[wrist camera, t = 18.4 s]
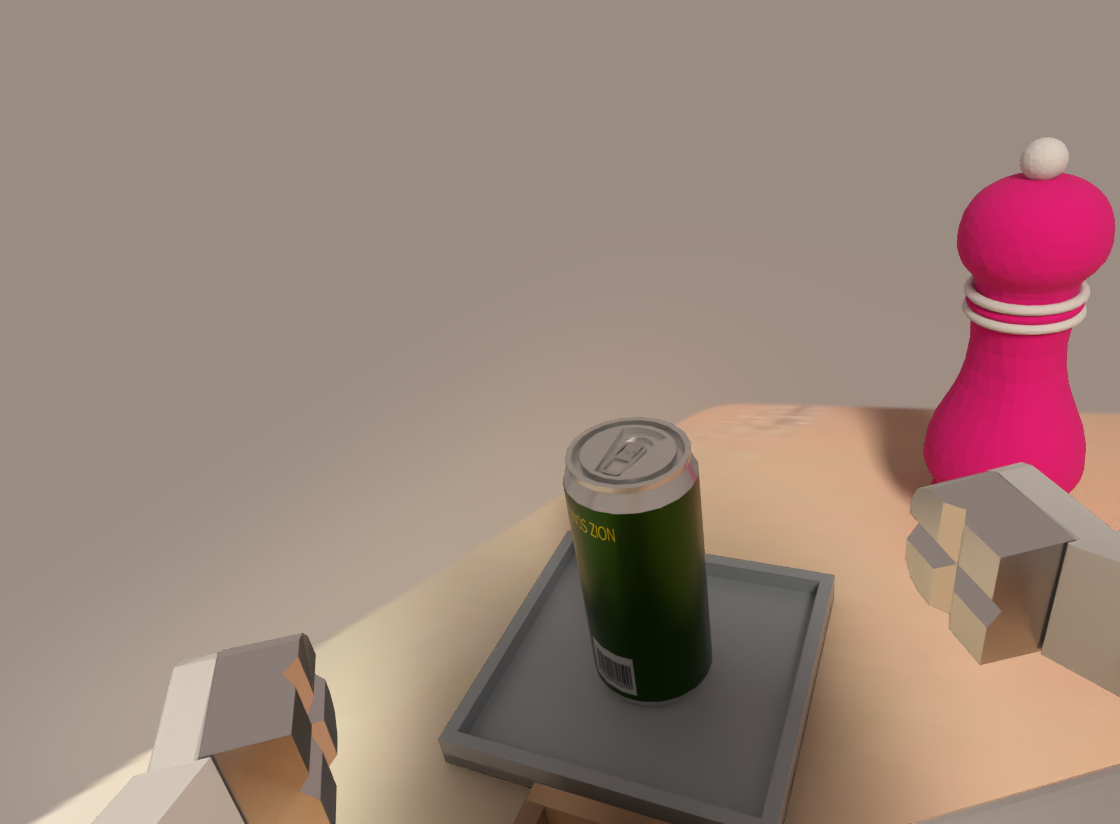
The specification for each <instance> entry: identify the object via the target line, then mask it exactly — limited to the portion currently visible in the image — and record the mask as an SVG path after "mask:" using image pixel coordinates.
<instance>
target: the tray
mask: <svg viewBox="0 0 1120 824" xmlns="http://www.w3.org/2000/svg"><path fill="white" fill-rule="evenodd" d="M705 562H706V576H707V589H708V602H709V616H710V629H711V642H712V664H711V666H710V669H709V671H708V674H707V676H706V678H705V679H704V681H703V683H702V684H701V685H700V687H699V688H698V689H697V690H696V691H695V692H694V693H693V694H692V695H691V696H690V697H688V698H686V699H685V700H683V701H681V702H679V703H677V704H674V705H670V706H666V707H662V708H644V707H640V706H637V705H633V704H629V703H627V702H626V701H624V700H623V699H621V698H619V697H618V696H616V695H615V694H614V693H613V692H612V691H611V690H610V689H609V688H608V686H607V685H606V684H605V683H604V682H603V680H602V679H601V678H600V677H599V675H598V671H597V668H596V665H595V661H594V656H593V650H592V644H591V639H590V633H589V627H588V622H587V616H586V610H585V605H584V599H583V593H582V587H581V582H580V576H579V570H578V565H577V559H576V553H575V548H574V542H573V536H572V532H570V531H568V532H567V533H566V535H565V536H564V538H563V540H562V541H561V543H560V545H559V546H558V548H557V549H556V551H555V553H554V554H553V556H552V557H551V559H550V561H549V562H548V564H547V565H546V567H545V569H544V570H543V572H542V573H541V575H540V577H539V578H538V580H537V581H536V583H535V585H534V586H533V588H532V589H531V591H530V593H529V594H528V596H527V598H526V599H525V601H524V602H523V604H522V606H521V607H520V609H519V610H518V612H517V614H516V615H515V617H514V618H513V620H512V622H511V623H510V625H509V626H508V628H507V630H506V631H505V633H504V634H503V636H502V638H501V639H500V641H499V642H498V644H497V646H496V647H495V649H494V650H493V652H492V654H491V655H490V657H489V659H488V660H487V662H486V663H485V665H484V667H483V668H482V670H481V671H480V673H479V675H478V676H477V678H476V679H475V681H474V683H473V684H472V686H471V687H470V689H469V691H468V692H467V694H466V695H465V697H464V699H463V700H462V702H461V703H460V705H459V707H458V708H457V710H456V712H455V713H454V715H453V716H452V718H451V720H450V721H449V723H448V724H447V726H446V728H445V729H444V731H443V732H442V734H441V736H440V737H439V739H438V740H439V743H440V746H441V749H442V752H443V755H444V758H445V761H446V762H449V763H452V764H455V765H458V766H462V767H465V768H468V769H471V770H475V771H478V772H481V773H484V774H488V775H491V776H494V777H497V778H501V779H504V780H507V781H510V782H514V783H517V784H520V785H523V786H527V787H530V788H532V786H533V784H534V782H536V783H539V784H542V785H546V786H549V787H552V788H556V789H559V790H562V791H565V792H569V793H572V794H575V795H579V796H582V797H585V798H589V799H592V800H595V801H598V802H602V803H605V804H608V805H612V806H615V807H618V808H621V809H625V810H628V811H631V812H635V813H638V814H641V815H644V816H648V817H651V818H654V819H658V820H661V821H664V822H668V823H671V824H784V821H785V816H786V812H787V807H788V803H789V798H790V794H791V789H792V785H793V780H794V776H795V771H796V767H797V762H798V758H799V753H800V749H801V744H802V740H803V735H804V731H805V726H806V721H807V717H808V712H809V708H810V703H811V699H812V694H813V690H814V685H815V681H816V676H817V672H818V667H819V663H820V658H821V654H822V649H823V645H824V640H825V636H826V631H827V627H828V622H829V618H830V613H831V609H832V604H833V600H834V578H835V575H831V574H825V573H819V572H813V571H807V570H801V569H795V568H789V567H783V566H776V565H770V564H764V563H758V562H752V561H746V560H740V559H734V558H728V557H722V556H716V555H710V554H705Z"/></svg>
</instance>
